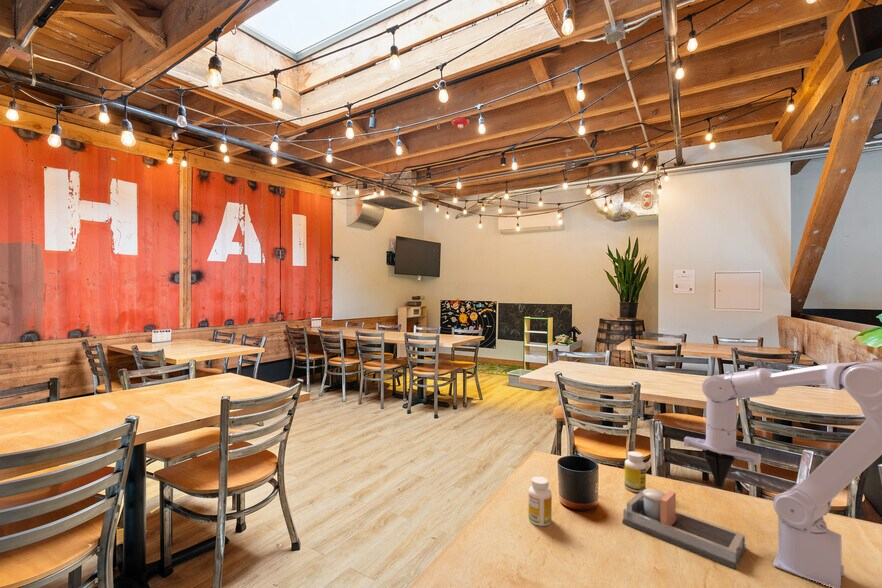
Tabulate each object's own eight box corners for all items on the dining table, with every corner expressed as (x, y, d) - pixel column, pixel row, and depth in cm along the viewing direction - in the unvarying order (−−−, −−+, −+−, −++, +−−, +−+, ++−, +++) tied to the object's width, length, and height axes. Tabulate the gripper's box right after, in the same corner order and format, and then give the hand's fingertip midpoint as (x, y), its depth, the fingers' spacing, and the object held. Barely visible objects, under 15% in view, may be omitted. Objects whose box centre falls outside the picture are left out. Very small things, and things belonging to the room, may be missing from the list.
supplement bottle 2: (643, 495, 109) (643, 459, 109) (622, 489, 112) (622, 454, 113) (647, 487, 113) (647, 453, 114) (626, 482, 117) (626, 448, 117)
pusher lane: (745, 548, 86) (745, 524, 86) (735, 569, 79) (735, 543, 79) (638, 508, 102) (638, 488, 102) (622, 523, 95) (622, 502, 95)
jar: (668, 520, 95) (668, 493, 95) (663, 529, 91) (662, 500, 92) (646, 513, 98) (646, 486, 98) (640, 521, 95) (640, 493, 95)
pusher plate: (675, 521, 94) (675, 492, 94) (666, 531, 90) (666, 501, 90) (670, 519, 95) (670, 490, 95) (660, 529, 91) (660, 499, 91)
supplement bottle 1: (549, 515, 99) (549, 475, 99) (553, 527, 93) (553, 485, 93) (527, 513, 99) (527, 474, 99) (529, 526, 94) (530, 484, 94)
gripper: (763, 431, 90) (762, 491, 90) (690, 415, 101) (689, 469, 101) (758, 438, 85) (756, 502, 85) (681, 421, 96) (680, 478, 96)
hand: (719, 485), depth 93 cm, fingers closed
